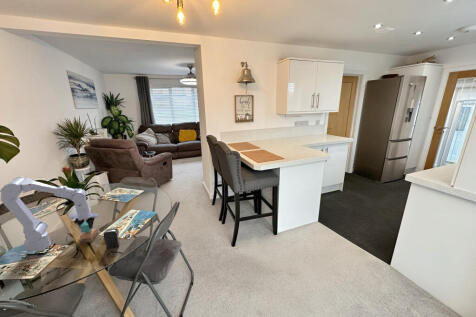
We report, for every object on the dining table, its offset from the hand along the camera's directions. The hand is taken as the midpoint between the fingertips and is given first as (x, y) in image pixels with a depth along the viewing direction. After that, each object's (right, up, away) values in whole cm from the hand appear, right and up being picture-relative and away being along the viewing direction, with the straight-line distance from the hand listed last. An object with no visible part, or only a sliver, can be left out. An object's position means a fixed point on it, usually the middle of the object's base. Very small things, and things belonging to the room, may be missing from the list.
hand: (87, 227), depth 113 cm
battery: (+18, -10, -3) cm, 21 cm away
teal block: (0, -1, 0) cm, 2 cm away
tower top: (0, -5, +1) cm, 5 cm away
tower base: (0, -8, +2) cm, 8 cm away
